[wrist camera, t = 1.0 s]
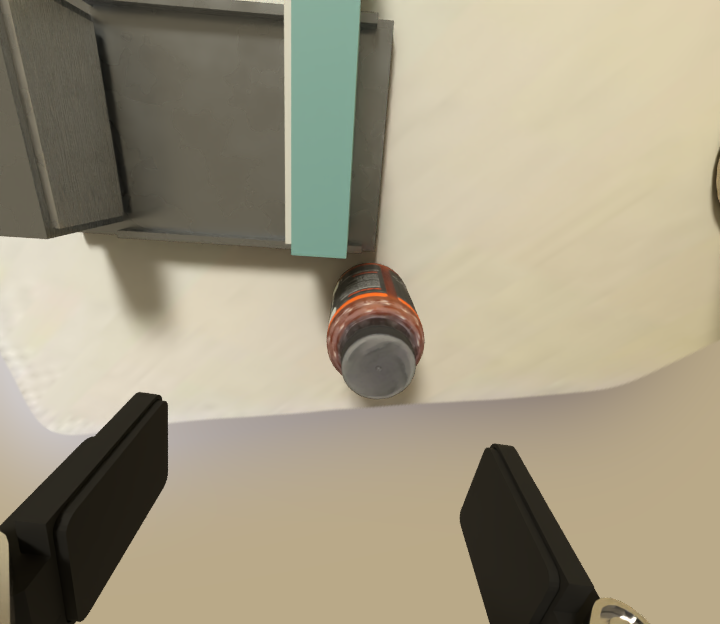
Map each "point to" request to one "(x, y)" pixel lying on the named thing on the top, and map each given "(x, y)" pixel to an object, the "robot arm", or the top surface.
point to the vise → (165, 121)
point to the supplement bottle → (374, 331)
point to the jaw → (319, 123)
